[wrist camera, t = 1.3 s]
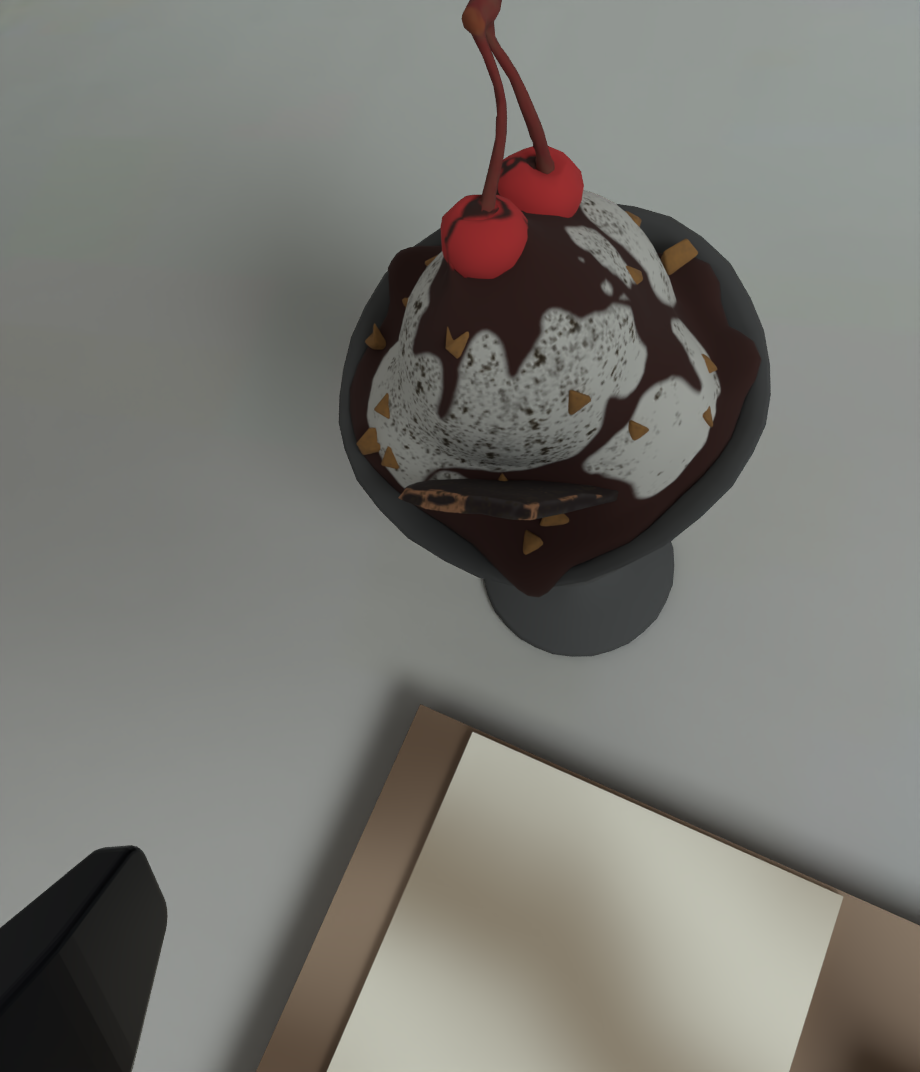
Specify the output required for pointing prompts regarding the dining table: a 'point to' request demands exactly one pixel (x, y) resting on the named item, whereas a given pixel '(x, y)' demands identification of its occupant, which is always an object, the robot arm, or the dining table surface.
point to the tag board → (583, 938)
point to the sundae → (554, 390)
